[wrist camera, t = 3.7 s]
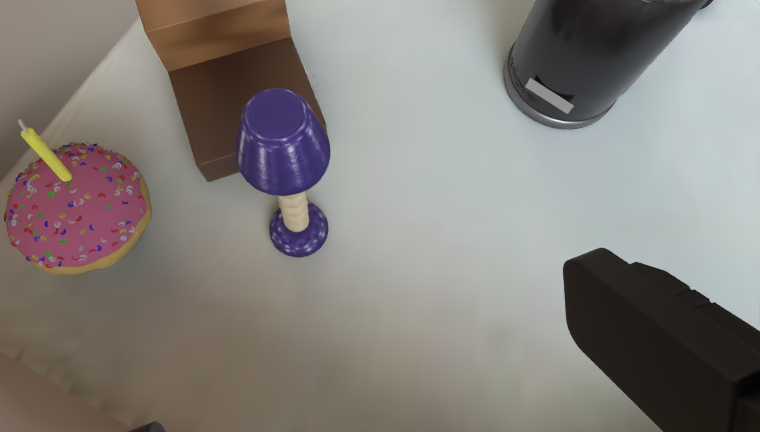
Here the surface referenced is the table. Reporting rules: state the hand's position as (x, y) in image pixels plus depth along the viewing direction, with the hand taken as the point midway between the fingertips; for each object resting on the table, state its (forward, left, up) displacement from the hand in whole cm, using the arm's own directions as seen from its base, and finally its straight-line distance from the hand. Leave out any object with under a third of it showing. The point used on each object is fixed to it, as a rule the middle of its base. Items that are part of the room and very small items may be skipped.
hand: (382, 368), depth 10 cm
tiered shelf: (+1, -24, -26) cm, 35 cm away
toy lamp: (0, -12, -27) cm, 29 cm away
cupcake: (+13, -16, -27) cm, 34 cm away
